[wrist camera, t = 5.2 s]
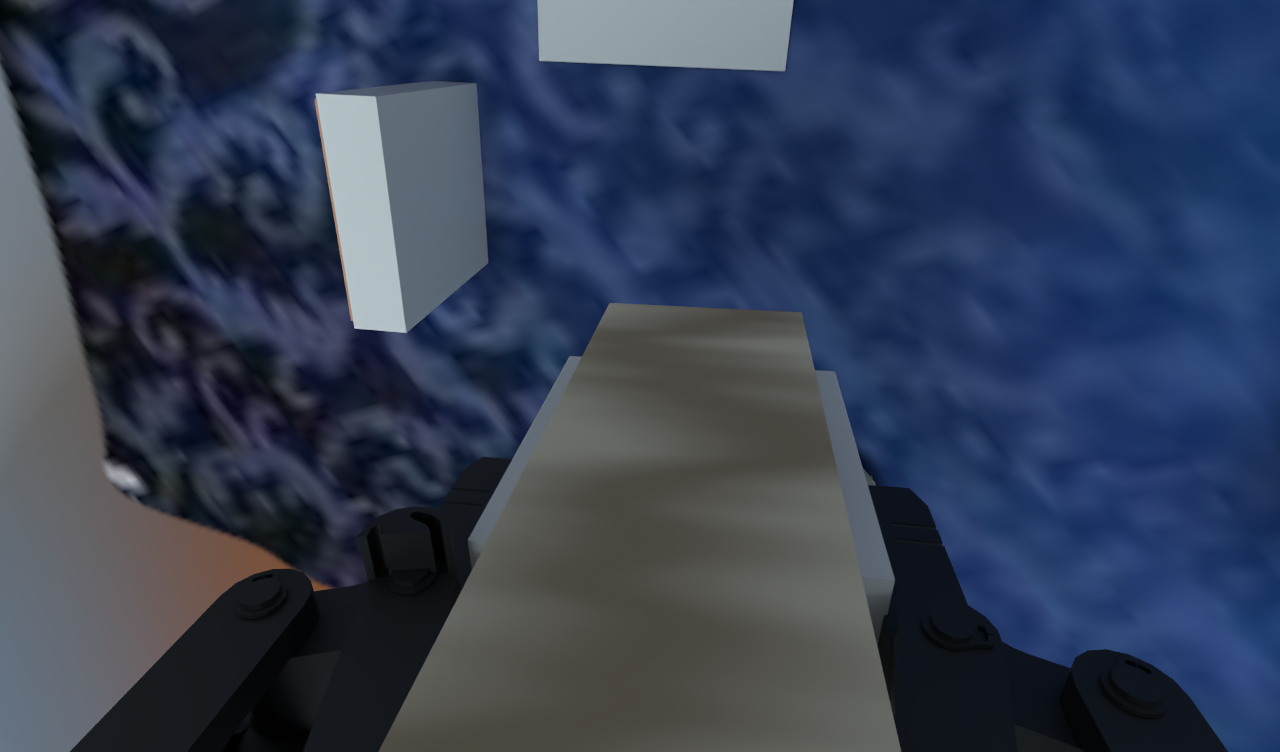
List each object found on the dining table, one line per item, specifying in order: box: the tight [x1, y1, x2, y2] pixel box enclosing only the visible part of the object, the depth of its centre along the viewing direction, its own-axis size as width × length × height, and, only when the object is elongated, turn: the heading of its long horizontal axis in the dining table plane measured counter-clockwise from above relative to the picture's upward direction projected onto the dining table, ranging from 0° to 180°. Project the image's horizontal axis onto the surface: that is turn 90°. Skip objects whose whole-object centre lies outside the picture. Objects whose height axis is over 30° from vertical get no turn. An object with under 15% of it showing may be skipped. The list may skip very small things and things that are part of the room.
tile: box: [315, 81, 488, 333], centre depth 27 cm, size 2×8×9 cm, turn 178°
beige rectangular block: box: [379, 303, 901, 752], centre depth 11 cm, size 4×4×13 cm
